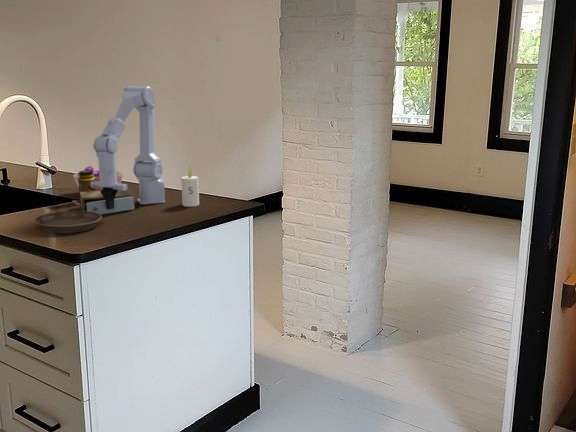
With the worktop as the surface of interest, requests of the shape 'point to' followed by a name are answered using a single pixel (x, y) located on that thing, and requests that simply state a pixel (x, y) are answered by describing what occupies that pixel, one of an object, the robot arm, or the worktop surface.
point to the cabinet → (101, 197)
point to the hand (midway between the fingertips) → (110, 208)
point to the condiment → (85, 183)
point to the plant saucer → (68, 221)
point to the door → (119, 205)
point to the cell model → (97, 177)
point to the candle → (190, 190)
